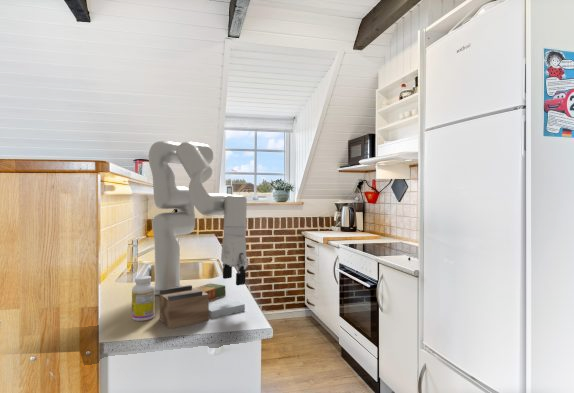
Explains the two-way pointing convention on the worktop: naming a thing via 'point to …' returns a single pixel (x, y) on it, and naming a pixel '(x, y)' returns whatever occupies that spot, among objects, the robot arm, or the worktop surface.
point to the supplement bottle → (143, 299)
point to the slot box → (183, 306)
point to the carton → (213, 290)
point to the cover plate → (225, 308)
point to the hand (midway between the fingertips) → (233, 281)
